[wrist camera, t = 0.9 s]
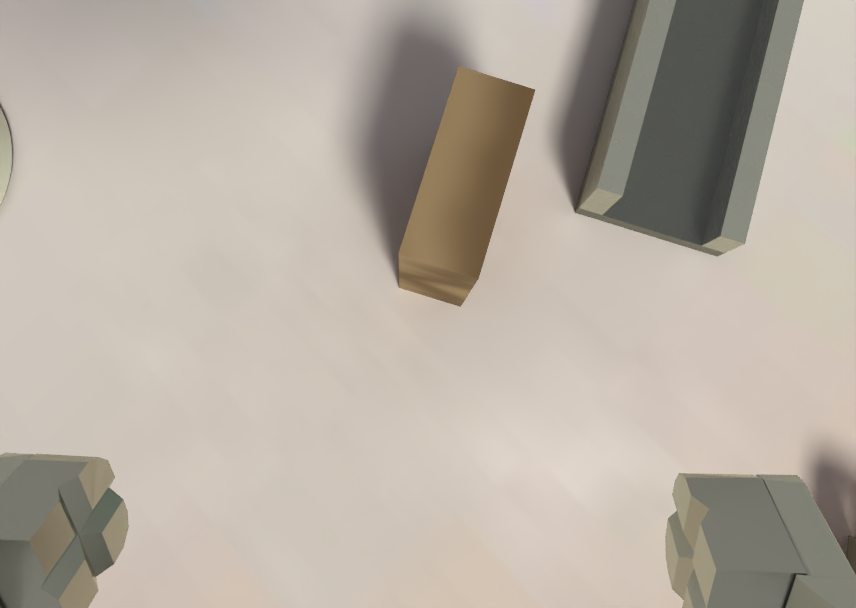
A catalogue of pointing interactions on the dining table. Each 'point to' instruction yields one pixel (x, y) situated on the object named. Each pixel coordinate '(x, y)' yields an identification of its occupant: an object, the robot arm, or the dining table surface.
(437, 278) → the brown rectangular block
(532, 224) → the dining table surface
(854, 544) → the electrical connector
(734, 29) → the track
